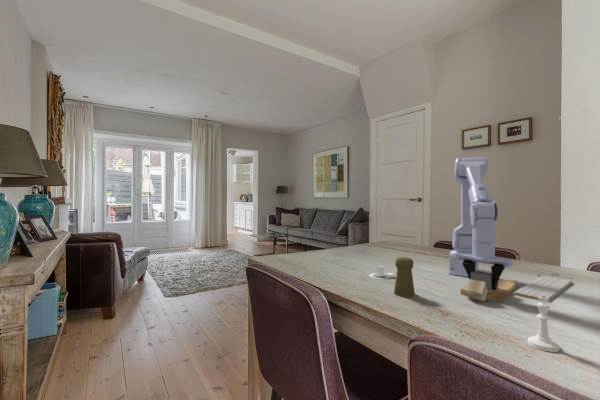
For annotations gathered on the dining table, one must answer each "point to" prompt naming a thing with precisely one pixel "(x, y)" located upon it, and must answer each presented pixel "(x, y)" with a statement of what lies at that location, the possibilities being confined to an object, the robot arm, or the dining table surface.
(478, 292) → the beige cube
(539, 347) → the chess piece
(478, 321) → the dining table surface
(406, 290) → the cork
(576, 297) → the dining table surface
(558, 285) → the baseboard
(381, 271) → the teacup and saucer
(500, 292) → the board
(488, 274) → the block
